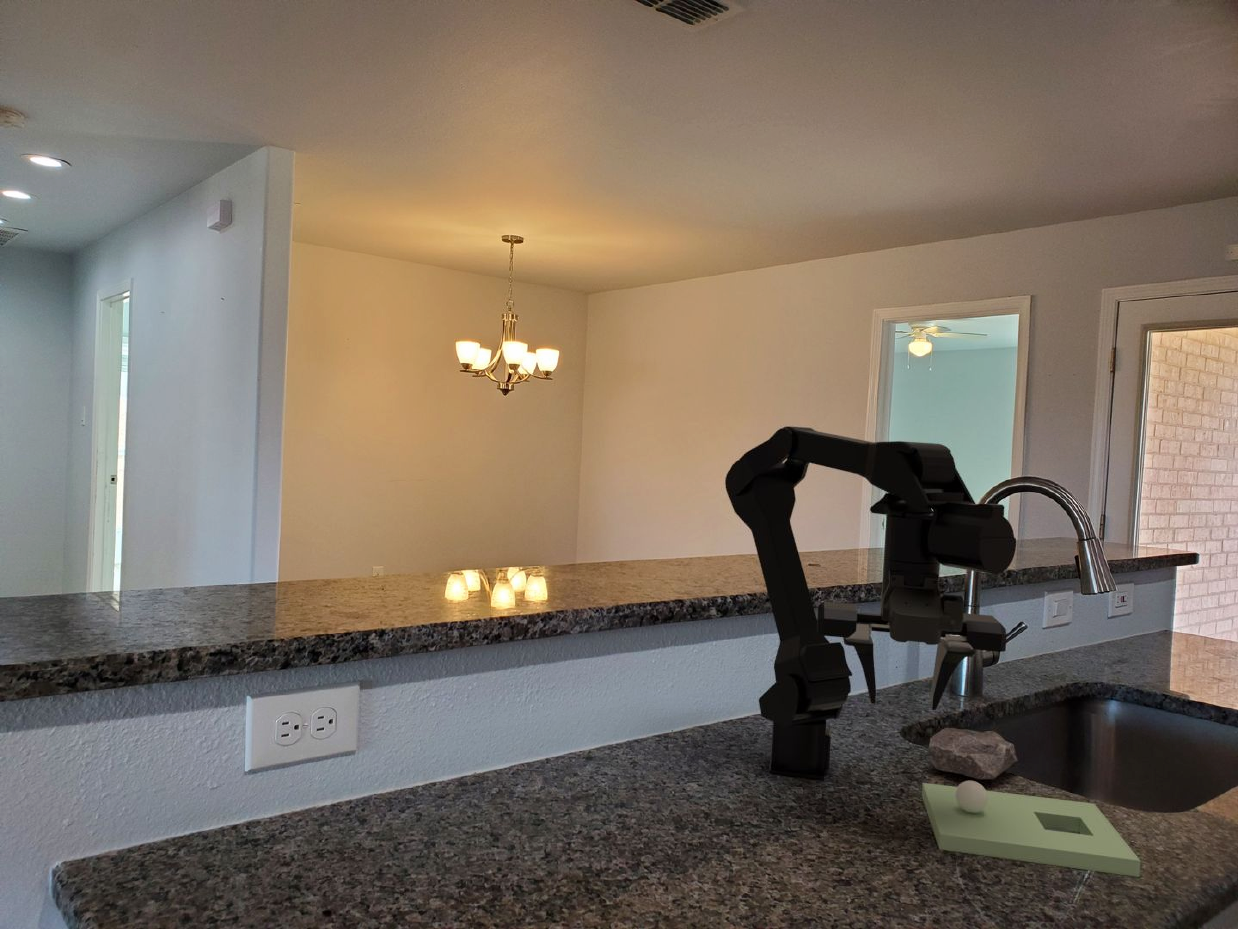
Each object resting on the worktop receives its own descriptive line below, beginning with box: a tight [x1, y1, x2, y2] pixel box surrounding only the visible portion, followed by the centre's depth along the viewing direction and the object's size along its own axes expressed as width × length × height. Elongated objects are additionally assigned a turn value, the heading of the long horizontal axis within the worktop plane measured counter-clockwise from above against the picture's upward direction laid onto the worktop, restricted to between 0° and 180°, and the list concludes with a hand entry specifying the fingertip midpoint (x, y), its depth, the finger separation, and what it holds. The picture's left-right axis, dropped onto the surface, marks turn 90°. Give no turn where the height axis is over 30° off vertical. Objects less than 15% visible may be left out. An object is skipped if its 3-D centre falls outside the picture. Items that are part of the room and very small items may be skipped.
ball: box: [955, 780, 988, 813], centre depth 95 cm, size 3×3×3 cm
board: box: [921, 782, 1141, 878], centre depth 94 cm, size 18×14×2 cm
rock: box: [928, 727, 1019, 780], centre depth 111 cm, size 8×11×5 cm
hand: (902, 706), depth 96 cm, fingers open, 6 cm apart
